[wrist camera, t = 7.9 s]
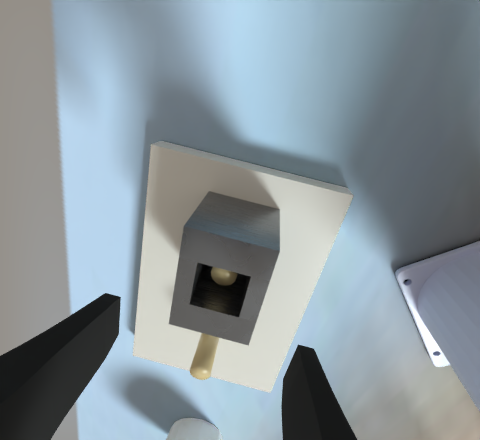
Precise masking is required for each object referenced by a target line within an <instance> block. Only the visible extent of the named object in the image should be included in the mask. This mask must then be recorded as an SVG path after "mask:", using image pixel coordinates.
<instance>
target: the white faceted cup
mask: <svg viewBox="0 0 480 440" xmlns="http://www.w3.org/2000/svg"><path fill="white" fill-rule="evenodd" d="M166 440H223V436H222V434H221V432H220V430H219V429H218V428H216V427H215V426H214V425H213V424H211V423H209V422H207V421H205V420H202V419H197V418H182V419H180V420H178V421H175V423H174V424H173V425H172V427H171V429H170V432H169V434H168V436H167V439H166Z"/></svg>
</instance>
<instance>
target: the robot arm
mask: <svg viewBox="0 0 480 440" xmlns="http://www.w3.org/2000/svg"><path fill="white" fill-rule="evenodd" d="M395 276H396V279H397V281H398V283H399V286H400V288H401V290H402V293H403V295H404V297H405V300H406V302H407V305H408V307H409V309H410V312H411V314H412V316H413V319H414V321H415V324H416V326H417V328H418V331H419V333H420V335H421V338H422V340H423V342H424V345H425V347H426V350H427V352H428V354H429V357H430V359H431V361H432V363H433V364H434V365H435V366H437V367H443V366H447V365H451V367H452V369H453V370H454V372H455V373H456V375H457V376H458V378H459V380H460V381H461V383H462V384H463V386H464V388H465V389H466V391H467V392H468V394H469V396H470V397H471V399H472V400H473V402H474V404H475V405H476V407H477V408H478V410H479V411H480V241H478V242H475V243H472V244H469V245H466V246H463V247H460V248H457V249H454V250H452V251H449V252H446V253H443V254H440V255H437V256H434V257H431V258H428V259H425V260H422V261H419V262H416V263H413V264H410V265H408V266H405V267H402V268H399V269H398V270H397V271H396V273H395ZM406 279H409V280H408V281H407V282H404V280H406ZM120 298H121V297H118V296H115V295H111V294H107V293H105V294H103V295H102V296H100V297H99V298H97V299H96V300H94V301H92V302H91V303H89V304H88V305H86V306H85V307H83V308H82V309H80V310H79V311H77V312H75V313H74V314H72V315H71V316H69V317H68V318H66V319H64V320H63V321H61V322H59V323H58V324H56V325H55V326H53V327H51V328H50V329H48V330H46V331H45V332H43V333H41V334H39V335H38V336H36V337H34V338H32V339H31V340H29V341H27V342H25V343H24V344H22V345H20V346H18V347H17V348H14V349H12V350H11V351H9V352H7V353H5V354H3V355H1V356H0V440H51V438H52V436H53V435H54V433H55V431H56V430H57V428H58V427H59V425H60V424H61V422H62V420H63V419H64V417H65V416H66V415H67V413H68V412H69V410H70V409H71V407H72V406H73V405H74V403H75V402H76V400H77V399H78V397H79V396H80V395H81V393H82V392H83V390H84V389H85V387H86V386H87V385H88V383H89V382H90V380H91V379H92V377H93V376H94V374H95V373H96V372H97V370H98V369H99V367H100V366H101V364H102V363H103V361H104V360H105V358H106V356H107V355H108V353H109V351H110V349H111V348H112V346H113V344H114V342H115V340H116V338H117V336H118V334H119V317H120ZM282 430H283V440H357V438H356V436H355V434H354V433H353V431H352V429H351V427H350V425H349V423H348V421H347V419H346V417H345V416H344V414H343V412H342V409H341V407H340V405H339V403H338V401H337V399H336V397H335V395H334V393H333V391H332V389H331V387H330V384H329V382H328V380H327V378H326V376H325V373H324V371H323V369H322V366H321V364H320V362H319V359H318V357H317V355H316V352H315V350H314V349H313V348H309V347H305V346H301V345H298V346H297V349H296V351H295V353H294V355H293V358H292V360H291V362H290V365H289V367H288V369H287V371H286V374H285V376H284V378H283V391H282Z"/></svg>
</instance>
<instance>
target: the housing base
mask: <svg viewBox="0 0 480 440" xmlns="http://www.w3.org/2000/svg"><path fill="white" fill-rule="evenodd" d="M209 191H211V192H215V193H219V194H222V195H226V196H230V197H234V198H238V199H242V200H246V201H250V202H254V203H258V204H261V205H265V206H269V207H273V208H277V209H280V253H279V256H278V259H277V262H276V265H275V268H274V271H273V274H272V277H271V280H270V283H269V286H268V289H267V292H266V295H265V298H264V301H263V304H262V307H261V310H260V313H259V316H258V319H257V322H256V325H255V328H254V331H253V334H252V337H251V340H250V343H249V346H248V345H245V344H241V343H237V342H233V341H230V340H226V339H222V338H219V337H215V336H211V335H207V334H204V333H200V332H196V331H193V330H189V329H185V328H181V327H178V326H174V325H170V324H169V318H170V312H171V305H172V299H173V292H174V286H175V279H176V273H177V266H178V260H179V253H180V247H181V240H182V234H183V227H184V225H185V224H186V222H187V221H188V219H189V218H190V217H191V215H192V214H193V212H194V211H195V210H196V208H197V207H198V206H199V204H200V203H201V201H202V200H203V199H204V197H205V196H206V194H207V193H208V192H209ZM352 199H353V194H352V193H351V192H350V190H349V189H348V188H346V187H342V186H338V185H334V184H330V183H326V182H322V181H319V180H315V179H311V178H307V177H303V176H299V175H295V174H291V173H287V172H283V171H279V170H275V169H271V168H267V167H263V166H259V165H255V164H252V163H248V162H244V161H240V160H236V159H232V158H228V157H224V156H220V155H216V154H212V153H208V152H204V151H200V150H196V149H192V148H188V147H185V146H181V145H177V144H173V143H169V142H165V141H158V142H156V143H153V144H151V150H150V161H149V173H148V185H147V196H146V208H145V220H144V231H143V243H142V254H141V266H140V278H139V289H138V301H137V313H136V324H135V336H134V347H133V356H137V357H140V358H144V359H148V360H151V361H155V362H159V363H162V364H166V365H170V366H173V367H177V368H181V369H184V370H188V371H190V373H191V375H192V376H193V377H195V378H197V379H200V380H205V379H208V378H209V377H214V378H217V379H221V380H225V381H228V382H232V383H236V384H239V385H243V386H247V387H251V388H254V389H258V390H262V391H265V392H269V393H271V390H272V388H273V386H274V383H275V381H276V378H277V376H278V374H279V371H280V369H281V367H282V364H283V362H284V360H285V357H286V355H287V352H288V350H289V348H290V345H291V343H292V341H293V338H294V336H295V333H296V331H297V329H298V326H299V324H300V322H301V319H302V317H303V315H304V312H305V310H306V307H307V305H308V303H309V300H310V298H311V296H312V293H313V291H314V289H315V286H316V284H317V281H318V279H319V277H320V274H321V272H322V270H323V267H324V265H325V262H326V260H327V258H328V255H329V253H330V251H331V248H332V246H333V244H334V241H335V239H336V236H337V234H338V232H339V229H340V227H341V225H342V222H343V220H344V218H345V215H346V213H347V210H348V208H349V206H350V203H351V201H352ZM211 276H212V279H213V280H214V281H215V282H216V283H218V284H220V285H224V286H226V285H231V284H232V283H234V282H235V280H236V278H237V273H235V272H232V271H228V270H224V269H220V268H216V267H213V268H212V270H211Z"/></svg>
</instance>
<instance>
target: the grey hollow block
mask: <svg viewBox="0 0 480 440" xmlns="http://www.w3.org/2000/svg"><path fill="white" fill-rule="evenodd" d="M279 253H280V209H277V208H273V207H269V206H265V205H261V204H258V203H254V202H250V201H246V200H242V199H238V198H234V197H230V196H226V195H222V194H219V193H215V192H211V191H209V192H208V193H207V194H206V196H205V197H204V199H203V200H202V201H201V203H200V204H199V206H198V207H197V208H196V210H195V211H194V212H193V214H192V215H191V217H190V218H189V219H188V221H187V222H186V224H185V225H184V227H183V234H182V240H181V247H180V253H179V260H178V266H177V273H176V279H175V286H174V292H173V299H172V305H171V312H170V318H169V324H170V325H174V326H178V327H181V328H185V329H189V330H193V331H196V332H200V333H204V334H207V335H211V336H215V337H219V338H222V339H226V340H230V341H233V342H237V343H241V344H245V345H248V346H249V343H250V340H251V337H252V334H253V331H254V328H255V325H256V322H257V319H258V316H259V313H260V310H261V307H262V304H263V301H264V298H265V295H266V292H267V289H268V286H269V283H270V280H271V277H272V274H273V271H274V268H275V265H276V262H277V259H278V256H279ZM213 267H216V268H220V269H224V270H228V271H232V272H235V273H237V278H236V280H235V282H234V283H232V284H231V285H226V286H224V285H220V284H218V283H216V282H215V281H214V280H213V279H212V276H211V270H212V268H213Z"/></svg>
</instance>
